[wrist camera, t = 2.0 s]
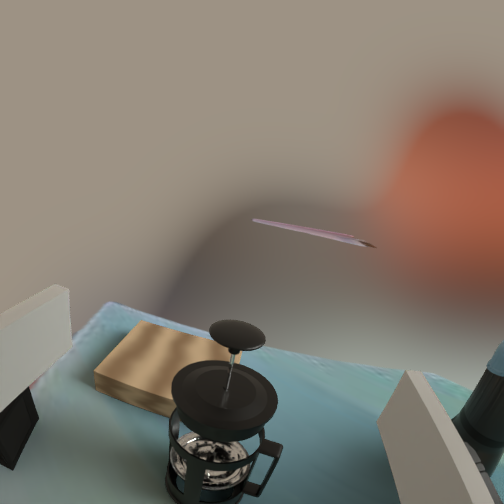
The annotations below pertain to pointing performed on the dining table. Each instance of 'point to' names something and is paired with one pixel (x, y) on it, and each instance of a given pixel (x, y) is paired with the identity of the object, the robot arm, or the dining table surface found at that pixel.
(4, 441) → the digital camera
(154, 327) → the oak base
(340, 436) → the dining table surface
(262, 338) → the french press
